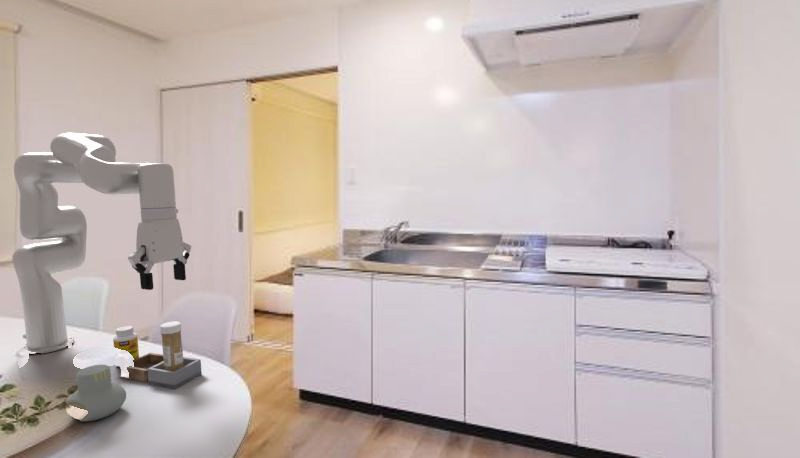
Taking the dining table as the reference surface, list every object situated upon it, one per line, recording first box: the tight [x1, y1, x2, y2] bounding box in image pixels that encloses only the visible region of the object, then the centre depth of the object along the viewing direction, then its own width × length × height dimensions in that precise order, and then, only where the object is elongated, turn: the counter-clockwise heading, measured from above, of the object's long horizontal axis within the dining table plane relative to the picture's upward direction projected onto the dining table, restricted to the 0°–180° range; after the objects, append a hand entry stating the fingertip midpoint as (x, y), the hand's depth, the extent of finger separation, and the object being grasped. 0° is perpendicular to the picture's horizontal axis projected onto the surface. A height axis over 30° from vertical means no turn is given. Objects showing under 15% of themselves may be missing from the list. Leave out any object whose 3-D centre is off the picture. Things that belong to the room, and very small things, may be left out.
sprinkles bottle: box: [159, 320, 184, 371], centre depth 111 cm, size 5×5×13 cm
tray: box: [147, 356, 203, 390], centre depth 111 cm, size 8×8×4 cm
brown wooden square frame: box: [127, 352, 164, 383], centre depth 116 cm, size 9×9×3 cm
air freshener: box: [65, 364, 127, 423], centre depth 95 cm, size 11×8×10 cm
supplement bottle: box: [113, 325, 140, 360], centre depth 120 cm, size 6×6×10 cm
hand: (164, 284), depth 109 cm, fingers open, 9 cm apart
